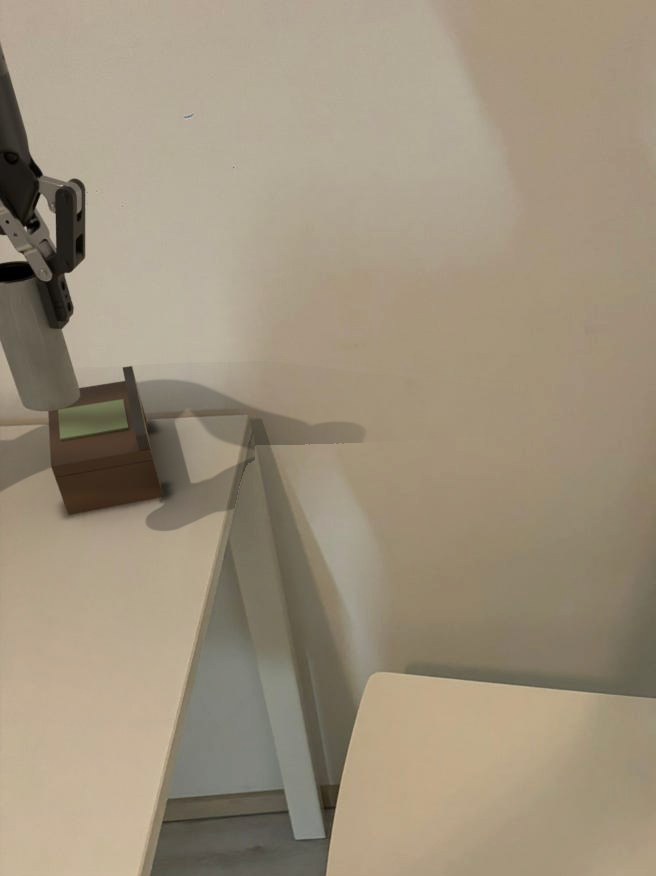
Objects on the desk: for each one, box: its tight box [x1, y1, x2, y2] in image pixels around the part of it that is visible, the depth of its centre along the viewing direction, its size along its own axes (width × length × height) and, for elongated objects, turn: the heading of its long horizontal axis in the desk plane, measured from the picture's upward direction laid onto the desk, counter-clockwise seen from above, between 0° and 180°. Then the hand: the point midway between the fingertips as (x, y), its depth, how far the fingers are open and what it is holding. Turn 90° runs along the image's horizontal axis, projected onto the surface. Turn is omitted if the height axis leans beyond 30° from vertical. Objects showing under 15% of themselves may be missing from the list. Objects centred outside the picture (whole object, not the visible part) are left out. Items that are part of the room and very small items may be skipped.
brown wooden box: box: [47, 365, 164, 516], centre depth 95 cm, size 16×9×8 cm, turn 20°
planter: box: [0, 260, 80, 412], centre depth 73 cm, size 4×4×10 cm
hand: (27, 323), depth 72 cm, fingers closed on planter, 4 cm apart
